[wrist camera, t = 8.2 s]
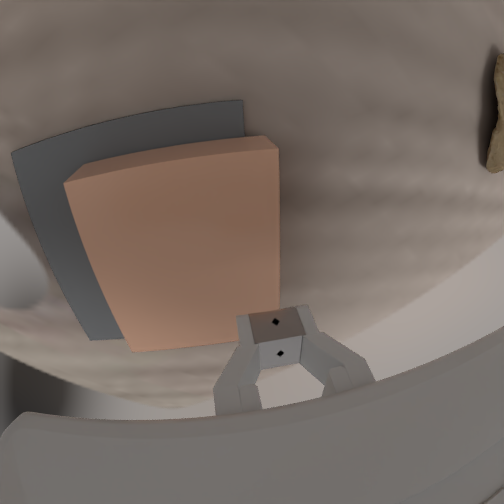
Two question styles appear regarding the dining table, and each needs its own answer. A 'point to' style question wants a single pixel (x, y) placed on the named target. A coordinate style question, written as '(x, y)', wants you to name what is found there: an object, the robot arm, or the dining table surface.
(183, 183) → the tile
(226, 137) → the mat
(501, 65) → the pottery shard
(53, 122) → the dining table surface
